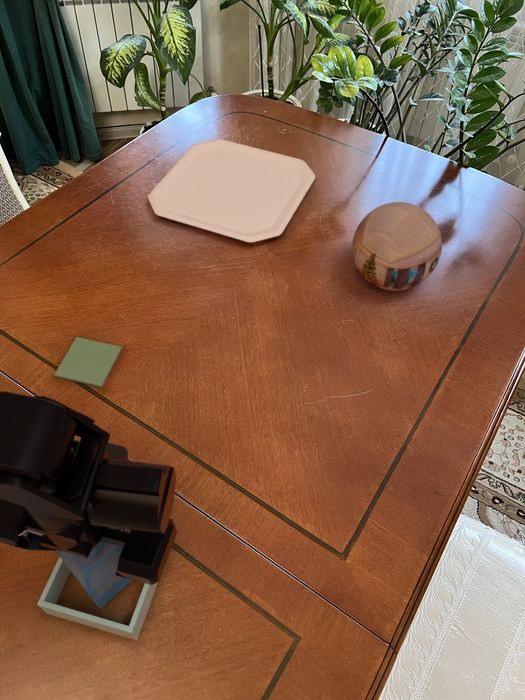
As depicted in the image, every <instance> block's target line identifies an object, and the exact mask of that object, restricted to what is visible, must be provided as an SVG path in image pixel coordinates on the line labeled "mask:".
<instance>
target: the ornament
mask: <svg viewBox="0 0 525 700" xmlns="http://www.w3.org/2000/svg"><path fill="white" fill-rule="evenodd" d="M351 245H352V246H351V251H352V258H353V262H354V264H355V267H356V268H357V271H358V272H359V274H360V275H361V276H362V277H363V279H365V280H366V281H367V282H368V283H370V284H371V285H373V286H374V287H377V288H379V289H381V290H385V291H391V292H392V291H394V292H396V291H405V290H409V289H412V288H414V287H416V286H418V285H420V284H421V283H423V282H425V280H427V279H428V278H429V277H430V276H431V275H432V273H433V272H434V271H435V269H436V267H437V266H438V264H439V261H440V258H441V255H442V249H443V248H442V246H443V241H442V234H441V231H440V228H439V226H438V224H437V222H436V221H435V219H434V218H433V216H432V215H431V214H429V212H427V211H426V210H425V209H423V208H422V207H420V206H418V205H416V204H413V203H411V202H405V201H394V202H388V203H383V204H382V205H379V206H377V207H375V208H374V209H372V210H371V211H369V212H368V213H367V214H366V215H365V216H364V217H363V218H362V219H361V221H360V223H359V224H358V225H357V227H356V230H355V231H354V235H353V239H352V244H351Z"/></svg>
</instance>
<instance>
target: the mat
mask: <svg viewBox="0 0 525 700" xmlns="http://www.w3.org/2000/svg"><path fill="white" fill-rule="evenodd" d="M122 351H123V347H122V346H119V345H115V344H111V343H106V342H101V341H98V340H93V339H88V338H84V337H79V336H76V337H75V339H74V341H73V342H72V344H71V346H70V347H69V349H68V351H66V353H65V355H64V358H63V359H62V360H61V362H60V364H59V366H58V367H57V369H56V371H55V372H54V374H53V376H54V377H55V378H59V379H63V380H68V381H72V382H76V383H80V384H84V385H88V386H92V387H97V388H101V389H102V388H103V386H104V385H105V383H106V381H107V379H108V377H109V375H110V373H111V372H112V369H113V367H114V365H115V364H116V362H117V360H118V358H119V356H120V354H121V352H122Z"/></svg>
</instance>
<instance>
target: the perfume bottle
mask: <svg viewBox="0 0 525 700" xmlns="http://www.w3.org/2000/svg"><path fill="white" fill-rule="evenodd" d="M109 528H111V527H109ZM113 529H114V528H113ZM122 549H123V547H122V546H118V545H115V544H111V543H107V542H104V541H99V543H98V544H97V545H95V546H94V547H93V548H92V550H91V552H90V554H89V557H88V559H87V558H84V557H80V556H76V555H73V554H69V553H66V552H62V551H59V550H58V551H56V554H57V555H58V556H59V557H60V558H61V559H62V560H63V562H64V563H65V564H66V565H67V567H68V568H69V569H70V571H71V572H70V573H72V576H74V577H75V579H76V580H77V581H78V582H79V584H80V586H82V588H83V589H84V591H85V592H86V593H87V594H88V596H89V597H90V598H91V599H92V600H93V602H94V603H95V604H96V606H97V607H98V608H99V609H102V608H103V607H104V606H105V605H106V604H108V603H109V602H110V601H111V600H112V599H113V598H114V597H115V596H116V595H117V594H119V593H120V592H121V591H122V590H123V589H124V588H125V587H126V586H127V585H128V584H130V583H131V582H132V581H133V580H130V579H127V578H123V577H120V576H116V575H115V574H116V571H117V567H118V561H119V557H120V554H121V552H122Z"/></svg>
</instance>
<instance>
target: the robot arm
mask: <svg viewBox="0 0 525 700" xmlns="http://www.w3.org/2000/svg"><path fill="white" fill-rule="evenodd" d="M75 437H78V438H79V440H77V439H75ZM110 438H111V433H110V432H108V431H106V430H105V429H103V428H102V427H100V426H98V425H97V424H95V419H94V418H92V417H89V416H88V415H85V414H83V413H81V412H80V411H77V410H75V409H73V408H71V407H69V406H68V405H65V404H63V403H62V402H60V401H57V400H56V399H53V398H51V397H48V396H45V395H33V396H31V395H27V394H21V393H17V392H12V391H8V390H7V391H6V390H0V543H2V544H5V545H8V546H12V547H15V548H18V549H21V550H26V551H47V552H57V551H58V550H59V551H62V552H66V553H69V554H73V555H76V556H80V557H84V558H87V559H88V557H89V554H90V552H91V550H92V548H93V547H94V546H95V545H97V544H98V543H99V541H104V542H107V543H111V544H115V545H118V546H122V547H123V549H122V552H121V554H120V557H119V561H118V567H117V571H116V574H115V575H116V576H120V577H123V578H127V579H130V580H132V581H133V582H139V583H143V584H145V583H146V584H149V585H154V584H155V583H157V582H158V583H159V582H160V580H161V578H162V576H163V573H164V569H165V567H166V564H167V561H168V559H169V555H170V553H171V550H172V548H173V545H174V542H175V539H176V537H177V534H178V531H177V530H178V529H177V526H176V524H175V522H174V520H173V518H171V515H172V513H173V507H174V502H175V495H176V494H175V493H176V481H177V476H176V475H177V474H176V469H175V467H174V466H172V465H169V464H160V463H152V462H145V461H144V462H143V461H135V460H129V451H128V449H127V448H126V447H125V446H123V445H120V444H119V445H118V444H115V443H111V442H109V441H110ZM109 527H111V528H109ZM113 528H114V529H113ZM117 528H118V530H116V529H117ZM121 529H122V531H120V530H121ZM124 530H125V532H123V531H124ZM128 531H129V533H127V532H128Z"/></svg>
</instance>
